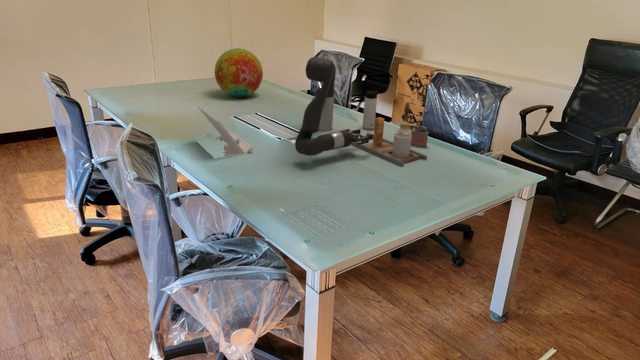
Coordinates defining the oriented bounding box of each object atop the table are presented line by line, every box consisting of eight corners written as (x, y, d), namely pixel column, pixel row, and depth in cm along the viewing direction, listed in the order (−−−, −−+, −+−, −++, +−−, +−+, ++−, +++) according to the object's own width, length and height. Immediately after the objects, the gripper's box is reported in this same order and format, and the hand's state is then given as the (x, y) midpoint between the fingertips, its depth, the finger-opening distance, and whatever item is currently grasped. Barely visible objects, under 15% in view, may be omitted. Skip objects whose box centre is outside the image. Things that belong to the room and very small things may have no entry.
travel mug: (374, 130, 238) (377, 92, 230) (361, 129, 239) (364, 91, 231) (375, 127, 243) (378, 90, 235) (363, 126, 245) (366, 89, 237)
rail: (426, 160, 201) (427, 155, 200) (400, 167, 192) (401, 162, 191) (368, 136, 229) (368, 132, 228) (343, 141, 220) (343, 137, 219)
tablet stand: (214, 159, 193) (211, 120, 186) (195, 142, 212) (192, 106, 205) (253, 153, 202) (252, 115, 195) (232, 136, 221) (230, 102, 214)
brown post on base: (419, 159, 201) (424, 128, 196) (400, 164, 195) (404, 132, 189) (382, 143, 219) (384, 115, 213) (363, 147, 212) (365, 118, 207)
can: (390, 154, 206) (392, 129, 201) (406, 154, 206) (409, 129, 202) (394, 160, 199) (397, 134, 194) (410, 160, 200) (414, 134, 195)
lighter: (427, 146, 218) (429, 126, 214) (426, 148, 215) (429, 128, 211) (410, 144, 221) (412, 124, 217) (409, 146, 218) (411, 125, 214)
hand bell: (393, 132, 236) (396, 102, 230) (402, 129, 242) (405, 99, 235) (406, 136, 231) (410, 105, 225) (415, 133, 237) (419, 103, 230)
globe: (259, 103, 282) (259, 53, 270) (211, 101, 282) (208, 50, 270) (265, 92, 309) (265, 46, 297) (221, 90, 309) (219, 44, 297)
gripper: (349, 136, 190) (377, 130, 199) (328, 127, 201) (356, 122, 210) (348, 153, 193) (376, 146, 202) (327, 143, 204) (355, 137, 213)
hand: (366, 134), depth 206 cm, fingers open, 8 cm apart
